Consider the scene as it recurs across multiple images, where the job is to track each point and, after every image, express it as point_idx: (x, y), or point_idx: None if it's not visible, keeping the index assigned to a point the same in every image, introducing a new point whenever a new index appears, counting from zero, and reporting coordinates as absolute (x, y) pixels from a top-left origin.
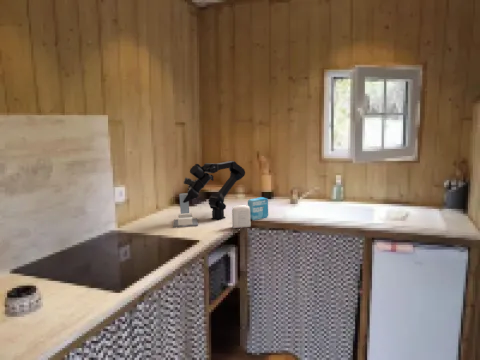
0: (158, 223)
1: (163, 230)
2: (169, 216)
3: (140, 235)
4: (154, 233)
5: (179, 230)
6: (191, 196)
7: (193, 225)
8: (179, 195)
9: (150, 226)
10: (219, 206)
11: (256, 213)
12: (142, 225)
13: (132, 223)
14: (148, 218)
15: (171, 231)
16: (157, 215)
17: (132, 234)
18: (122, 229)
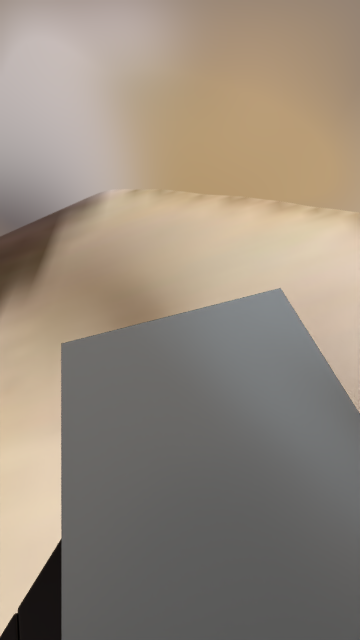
0: (188, 288)
1: (54, 351)
2: (332, 295)
3: (2, 281)
4: (12, 325)
5: (26, 453)
6: None
7: None
8: (65, 347)
9: (137, 272)
10: None
11: None
12: (155, 241)
13: (185, 204)
14: (267, 226)
15: (20, 404)
16: (329, 240)
17: (29, 251)
18: (106, 204)
